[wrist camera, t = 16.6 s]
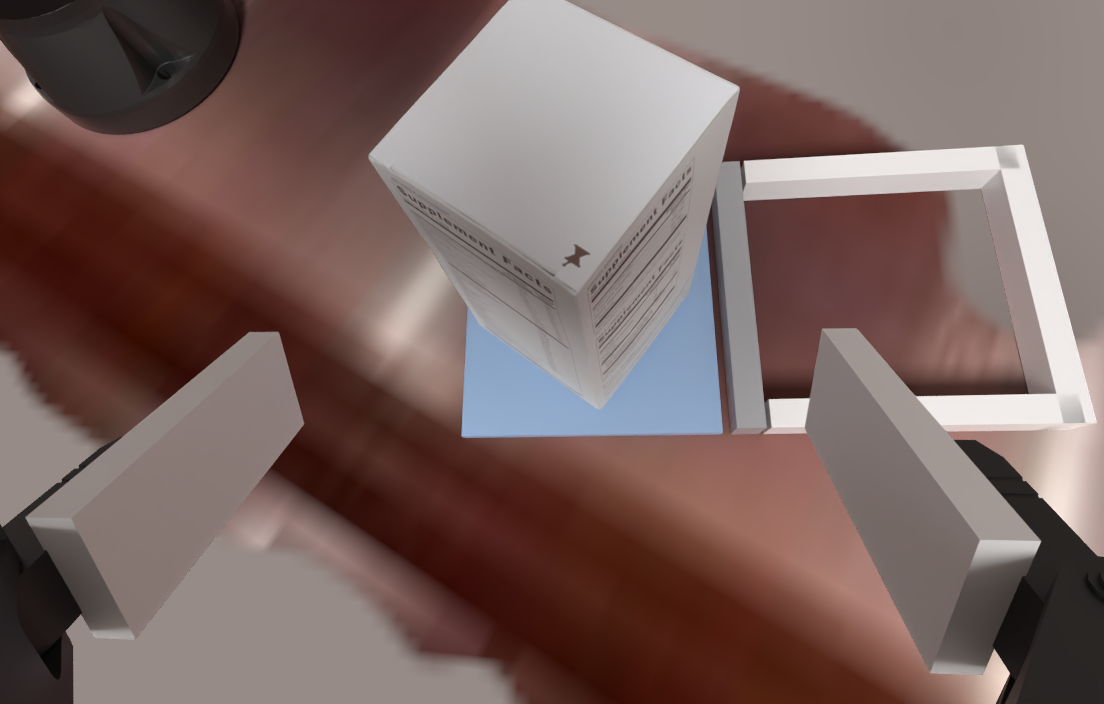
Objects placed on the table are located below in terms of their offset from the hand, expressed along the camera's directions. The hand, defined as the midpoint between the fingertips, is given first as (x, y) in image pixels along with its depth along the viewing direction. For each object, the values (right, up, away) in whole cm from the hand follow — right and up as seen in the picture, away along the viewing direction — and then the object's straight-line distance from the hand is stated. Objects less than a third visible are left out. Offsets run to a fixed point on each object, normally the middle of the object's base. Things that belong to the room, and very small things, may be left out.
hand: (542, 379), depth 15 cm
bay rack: (+11, +4, +21) cm, 24 cm away
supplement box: (+2, +3, +21) cm, 22 cm away
